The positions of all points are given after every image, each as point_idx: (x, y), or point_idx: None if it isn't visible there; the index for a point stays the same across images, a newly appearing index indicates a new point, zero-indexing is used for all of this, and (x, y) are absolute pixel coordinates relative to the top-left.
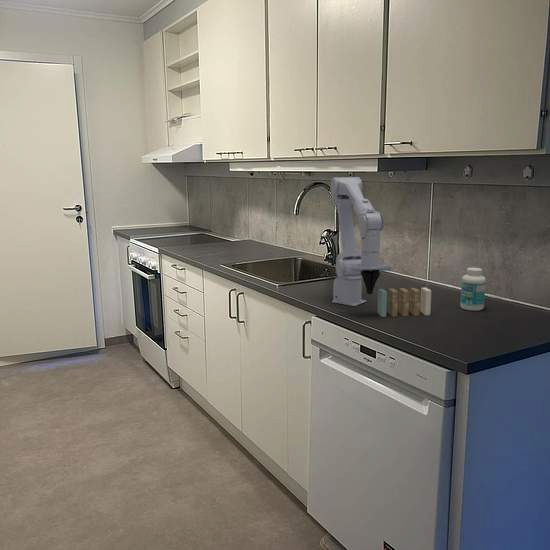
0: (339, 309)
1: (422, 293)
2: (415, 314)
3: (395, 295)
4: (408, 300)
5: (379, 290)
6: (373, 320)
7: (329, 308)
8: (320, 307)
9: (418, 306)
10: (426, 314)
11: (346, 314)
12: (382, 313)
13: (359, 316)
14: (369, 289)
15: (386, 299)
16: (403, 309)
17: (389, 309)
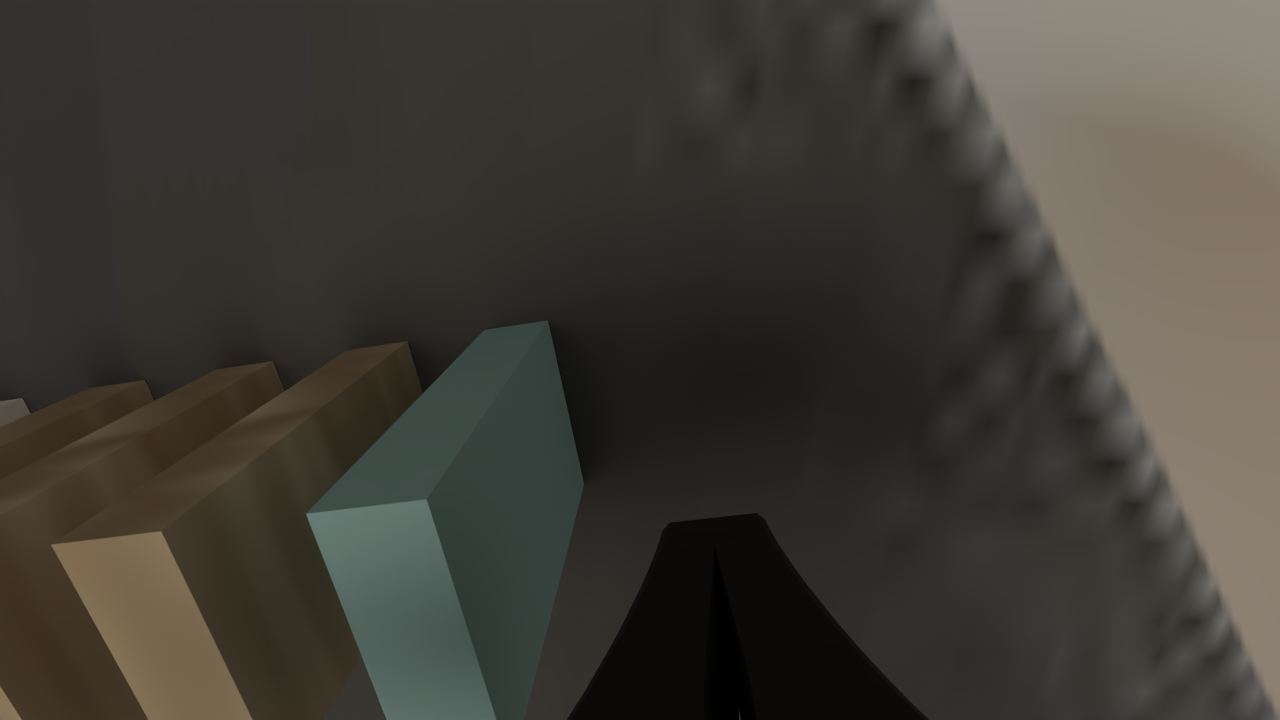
0: (1021, 616)
1: None
2: (122, 387)
3: (173, 491)
4: (31, 465)
5: (484, 675)
6: (670, 140)
7: (1133, 654)
8: (1231, 691)
9: None
10: (1, 402)
11: (988, 418)
12: (524, 335)
13: (833, 331)
14: (754, 569)
15: (392, 431)
16: (219, 398)
17: None
